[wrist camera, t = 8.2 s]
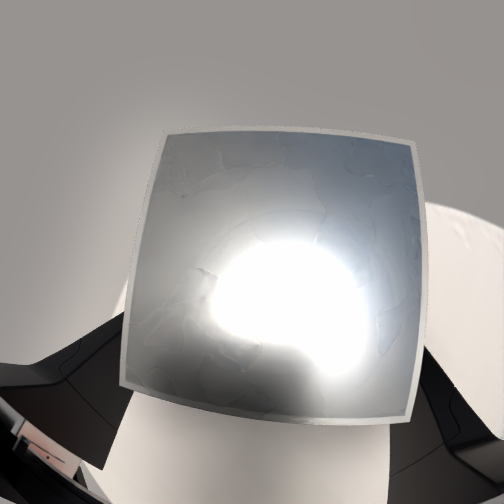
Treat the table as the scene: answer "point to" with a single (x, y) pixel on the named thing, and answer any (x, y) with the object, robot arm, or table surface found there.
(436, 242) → the table surface
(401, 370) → the tea tin
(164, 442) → the table surface
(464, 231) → the table surface
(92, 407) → the robot arm
